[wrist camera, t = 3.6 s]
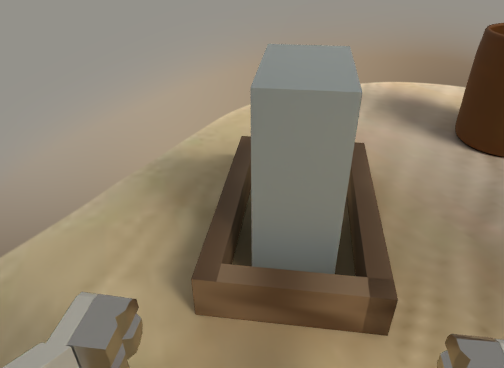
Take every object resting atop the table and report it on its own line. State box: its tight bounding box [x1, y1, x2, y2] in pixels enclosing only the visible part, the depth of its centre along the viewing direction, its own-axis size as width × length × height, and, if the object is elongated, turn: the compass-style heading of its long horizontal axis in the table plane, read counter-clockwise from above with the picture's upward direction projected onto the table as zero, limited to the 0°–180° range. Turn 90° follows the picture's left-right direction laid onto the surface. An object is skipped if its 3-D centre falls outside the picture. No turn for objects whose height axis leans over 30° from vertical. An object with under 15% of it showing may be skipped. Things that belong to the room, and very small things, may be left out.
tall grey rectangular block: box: [251, 44, 362, 274], centre depth 22 cm, size 4×7×11 cm, turn 172°
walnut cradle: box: [191, 136, 398, 335], centre depth 25 cm, size 9×15×2 cm, turn 172°
